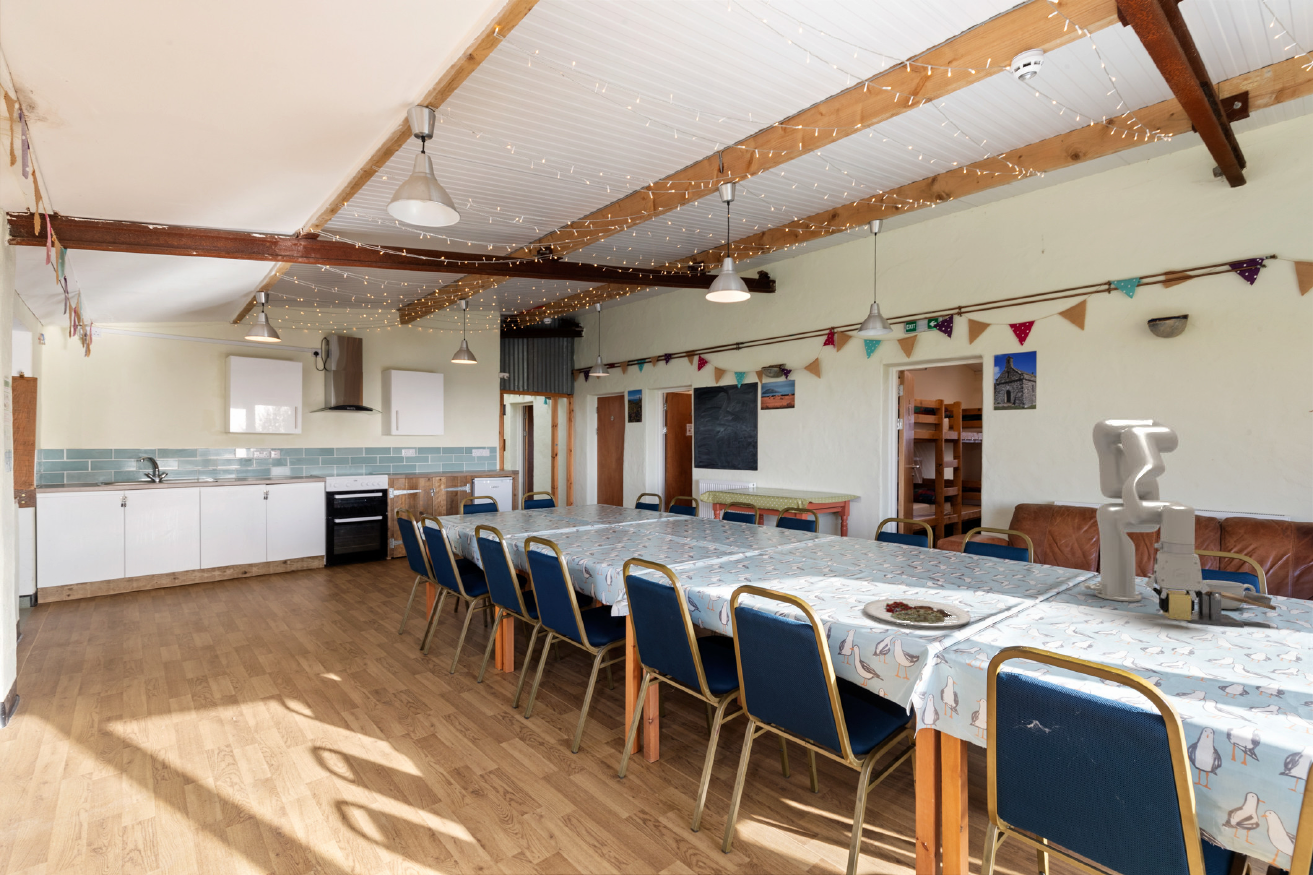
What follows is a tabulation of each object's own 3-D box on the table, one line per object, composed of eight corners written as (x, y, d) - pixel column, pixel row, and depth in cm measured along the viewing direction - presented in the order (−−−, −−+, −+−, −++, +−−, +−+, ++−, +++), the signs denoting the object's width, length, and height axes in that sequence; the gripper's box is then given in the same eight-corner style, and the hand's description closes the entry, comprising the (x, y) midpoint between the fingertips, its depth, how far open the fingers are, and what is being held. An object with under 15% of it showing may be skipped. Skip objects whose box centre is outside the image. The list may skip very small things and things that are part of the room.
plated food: (958, 638, 173) (957, 625, 173) (849, 620, 192) (849, 608, 192) (980, 614, 197) (980, 603, 197) (882, 599, 215) (881, 589, 215)
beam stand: (1192, 623, 185) (1191, 590, 185) (1176, 614, 195) (1176, 582, 195) (1244, 627, 181) (1244, 594, 181) (1225, 617, 191) (1225, 585, 191)
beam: (1154, 581, 190) (1157, 572, 189) (1146, 577, 196) (1148, 567, 196) (1275, 610, 180) (1278, 600, 180) (1262, 604, 186) (1264, 594, 186)
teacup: (1204, 609, 201) (1204, 583, 201) (1194, 601, 210) (1194, 577, 210) (1263, 614, 194) (1263, 588, 194) (1250, 606, 204) (1250, 581, 204)
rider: (1169, 618, 181) (1169, 593, 181) (1162, 613, 186) (1162, 589, 185) (1191, 620, 179) (1191, 595, 179) (1183, 615, 184) (1183, 590, 184)
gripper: (1145, 549, 181) (1145, 613, 182) (1220, 552, 175) (1220, 619, 176) (1136, 544, 188) (1135, 605, 189) (1208, 547, 182) (1207, 611, 183)
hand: (1176, 611), depth 182 cm, fingers closed on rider, 5 cm apart
